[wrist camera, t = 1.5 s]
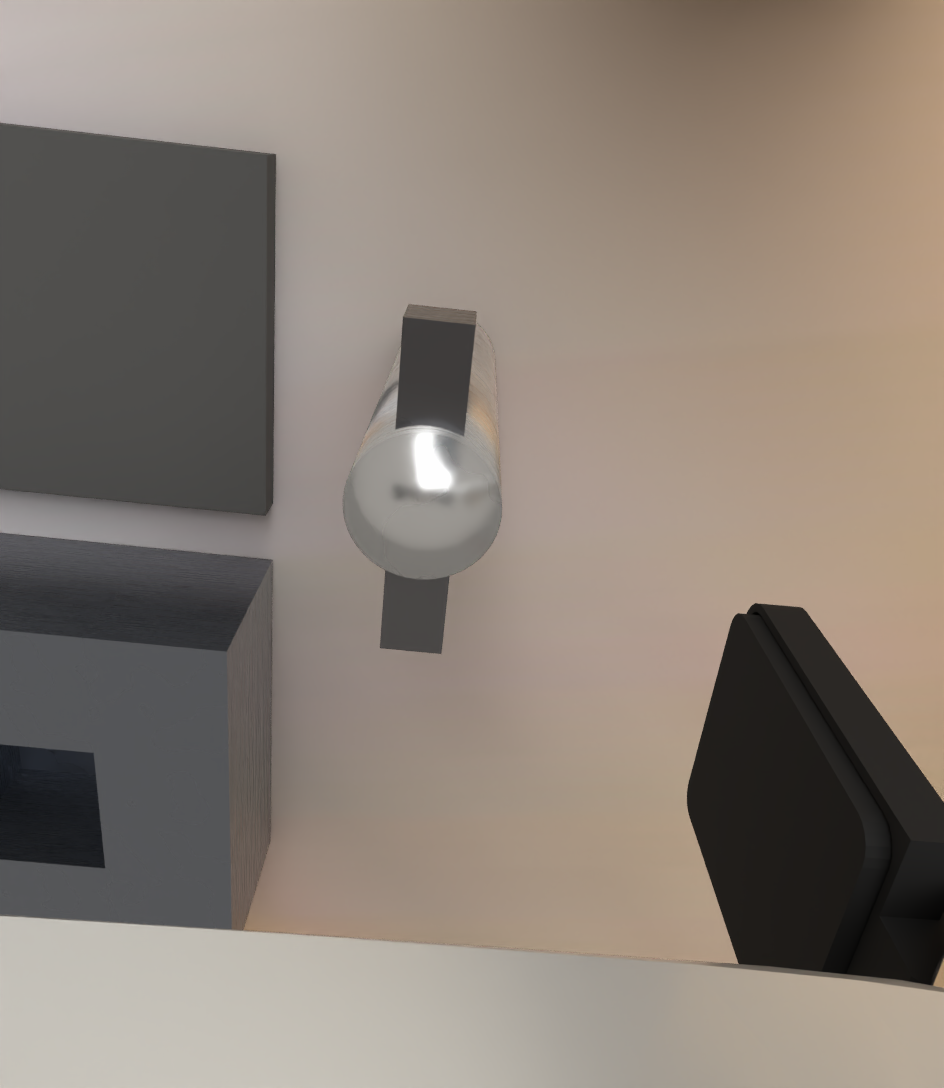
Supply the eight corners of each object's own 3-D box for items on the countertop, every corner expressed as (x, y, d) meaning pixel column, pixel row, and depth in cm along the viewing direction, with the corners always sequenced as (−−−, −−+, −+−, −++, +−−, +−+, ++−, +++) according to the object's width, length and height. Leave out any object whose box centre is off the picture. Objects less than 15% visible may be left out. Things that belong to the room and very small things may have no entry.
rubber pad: (275, 154, 23) (267, 155, 22) (272, 503, 27) (265, 515, 26) (-110, 110, 23) (-135, 109, 22) (-52, 470, 27) (-71, 481, 26)
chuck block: (272, 560, 28) (226, 651, 23) (270, 841, 33) (232, 965, 28) (-106, 522, 28) (-236, 607, 23) (-50, 812, 33) (-145, 934, 28)
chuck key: (507, 252, 24) (525, 335, 14) (483, 469, 27) (481, 669, 17) (406, 240, 24) (351, 316, 14) (391, 460, 27) (335, 655, 17)
